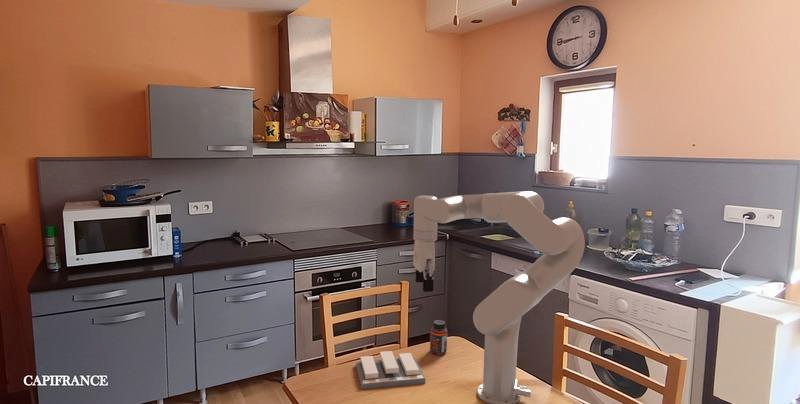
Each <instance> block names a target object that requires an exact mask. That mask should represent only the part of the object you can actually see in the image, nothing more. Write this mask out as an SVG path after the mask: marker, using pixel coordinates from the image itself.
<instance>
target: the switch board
mask: <svg viewBox="0 0 800 404" xmlns="http://www.w3.org/2000/svg"><path fill="white" fill-rule="evenodd" d="M412 357H413V359H414V361H415V363H416V365H417V367H418V369H419V374H418V375H406V373H405V371H404V369H403V366H402V364H401V362H400V360H399V357H397V358H396V357H395V360H396V362H397V364H398V367H399V373H387V374H386V372H385V369H384V366H383V363H382V361H381V359H374V362H375V365H376V368H377V371H378V378H371V379H365V375H364V372H363V368H362V364H361V360H360V361H355V368H356V372H357V375H358V379H359V380H358V381H359V384H360V387H361V389H362V390H363V389H374V388H375V389H377V388H385V387H386V388H387V387H396V386H397V387H398V386H409V385H417V384H419V385H420V384H426V377H425V374H424V373H423V371H422V369H421V367H420V365H419V364H418V362H417V359H416V357H414V356H412Z"/></svg>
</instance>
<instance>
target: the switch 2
mask: <svg viewBox="0 0 800 404" xmlns="http://www.w3.org/2000/svg"><path fill="white" fill-rule="evenodd" d="M413 357H414V356H413V355H412V353H411V352H405V353H403V352H402V353H399V354H398V358H399V360H400V362H401V364H402V366H403V369H404V371H405V373H406V375H418V374H419V369H418V367H417V365H416V363H415V361H414V359H413Z"/></svg>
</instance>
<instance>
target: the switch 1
mask: <svg viewBox="0 0 800 404" xmlns="http://www.w3.org/2000/svg"><path fill="white" fill-rule="evenodd" d="M374 360H375V358H374V357H373V355H365V356H360V361H361V364H362V368H363V372H364V375H365V379H371V378H378V371H377V368H376V365H375V362H374Z"/></svg>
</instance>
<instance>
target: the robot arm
mask: <svg viewBox="0 0 800 404" xmlns="http://www.w3.org/2000/svg"><path fill="white" fill-rule="evenodd" d="M544 211H545V202H544V199H543V198H542V196H541V195H539V193H537V192H535V191H530V190H528V191H527V190H526V191H521V190H520V191H507V192H492V193H491V192H490V193H480V194H464V195H462V194H461V195H451V196H446V197H441V198H437V197H436V196H434V195H418V196H415V198H414V203H413V238H412V239H413V240H414V246H413V247H414V248H413V257H412V259H413V260H412V265H413V267H415V282H416V283H422V291H423V292H424V293H429V292H430V293H431V292H433V291H434V278H435V277H434V271H435V267H436V263H435V262H436V250H435V248H436V246H435V242H436V241H437V240H438V223H439V224H447V223H451V222H453V221H456V220H457V221H458V220H462V219H463V220H465V219H482V220H483V219H484V221H486V223H491V224H492V223H507V224H508V226H510V227H511V228H512V229H513V230H514V231H515V232H516V233H518V234H519V236H520V237H522V238H523V239H525V241H526V242H528V243H529V244H530V245H531V246H533V248H535V249H536V250H537V251H538V252H540V253H542V255H541V256H540V257H539V258H537V259H536V260H535V262H533V263H532V264H531V265H529V266H528V267H526V269H525V270H523V271H522V272H519V273H518V274H516V275H514V276H512V277H511V278H509V279H507V280H505V281H504V282H503V283H502V284H500V285H499V286H498V287H497V288H496V289H495V290H494V291H492V292H491V293H490V294H489V295H488V296H487V297H486V298H485V299H483V300H482V301H481V302H479V304H478V305H476V307H475V309H474V311H473V314H472V321H473V325H474V327H475V328H476V331H478V332H479V333H480V334H482V335H485V336H484V351H483V352H484V354H483V373H482V377H483V378H482V383H480V384H479V385H478V386H477V389H476V390H477V392H476V393H477V396H478V398H479V399H480V400H482V401H483V402H484V403H486V404H517V403H518V402H520V401H521V396H523V397H525V398H531V393H532V390H531V389H530V390H529V389H528V386H526V385H520V384H518V379H517V363H518V362H517V361H518V346H519V344H518V343H519V332H520V327H521V326H520V325H521V322H522V317H523V316H524V315H525V314H526V313H528V312H529V311H530V310H531V309H532V308H534V307H535V306H537V304H539V303H540V302H541V301H542V299H543V298H544V297H545V296H546V295H547V294H549V293H550V292H551V291H552V290H553V289H555V288H556V287H558V285H559V284H560V283H562V282H563V281H564V280H565V279H566V278H567V277H568V276H569V275H571V273H572V272H573V271H574V270H575V269H576V268H577V267H578V265H580V261H581V259H582V258H583V254H584V251H585V246H586V242H585V235H584V234H585V233H584V232H583V229H582V227H581V226H580V224H579V223H578V222H577V221H576V220H574V219H572V218H570V217H558V218H555V219H550V218H549V217H548V216H547V215H546V214H544Z"/></svg>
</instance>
